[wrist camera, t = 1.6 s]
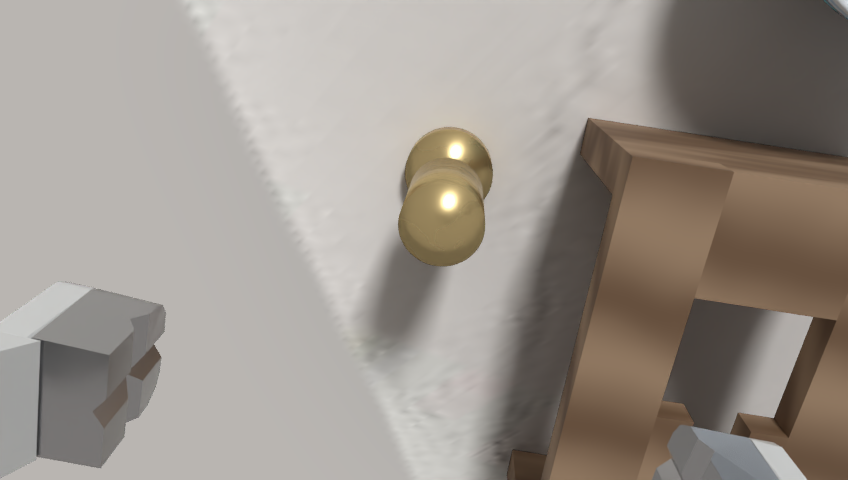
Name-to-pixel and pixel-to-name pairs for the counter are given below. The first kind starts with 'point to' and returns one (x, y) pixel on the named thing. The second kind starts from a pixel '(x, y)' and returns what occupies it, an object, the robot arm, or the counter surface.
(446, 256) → the brass peg
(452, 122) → the counter surface
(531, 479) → the keyhole shelf
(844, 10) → the chinaware
